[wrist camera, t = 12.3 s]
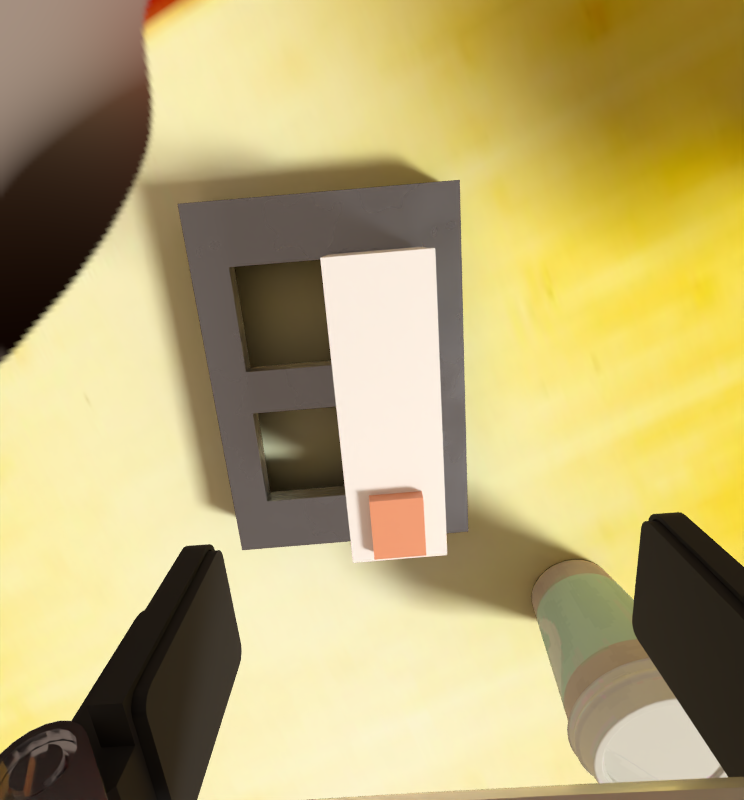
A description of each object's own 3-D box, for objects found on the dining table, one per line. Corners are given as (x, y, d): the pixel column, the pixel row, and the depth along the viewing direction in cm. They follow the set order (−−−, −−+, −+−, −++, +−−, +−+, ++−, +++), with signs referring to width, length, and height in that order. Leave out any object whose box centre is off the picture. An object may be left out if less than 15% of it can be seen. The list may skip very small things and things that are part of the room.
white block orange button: (411, 246, 28) (437, 248, 19) (422, 467, 33) (449, 562, 23) (333, 253, 28) (319, 258, 19) (355, 473, 33) (352, 570, 23)
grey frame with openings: (448, 186, 27) (459, 180, 24) (458, 505, 34) (468, 531, 30) (197, 208, 28) (177, 203, 24) (253, 522, 34) (242, 550, 31)
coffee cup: (499, 563, 35) (566, 718, 24) (617, 527, 34) (746, 669, 23) (527, 653, 38) (600, 832, 26) (638, 621, 37) (763, 791, 25)
